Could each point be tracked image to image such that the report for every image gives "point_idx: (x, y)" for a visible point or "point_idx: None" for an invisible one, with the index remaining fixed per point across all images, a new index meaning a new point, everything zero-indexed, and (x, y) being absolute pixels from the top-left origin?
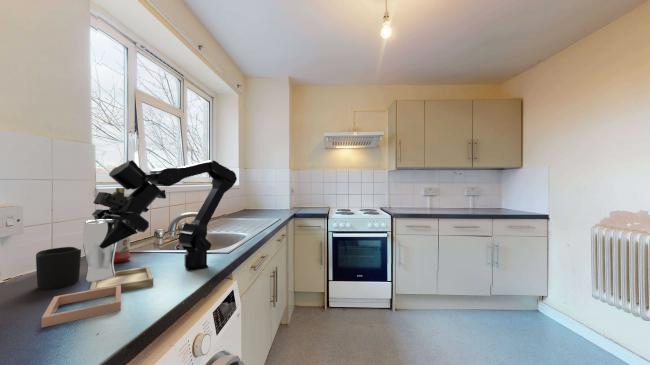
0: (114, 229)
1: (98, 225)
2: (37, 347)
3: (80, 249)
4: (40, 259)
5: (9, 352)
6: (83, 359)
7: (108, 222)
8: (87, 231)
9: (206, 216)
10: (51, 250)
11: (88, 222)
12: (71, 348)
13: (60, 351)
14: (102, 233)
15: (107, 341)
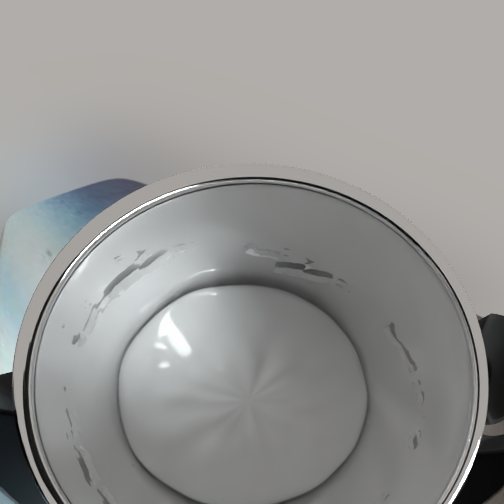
0: (11, 377)
1: (99, 250)
2: (106, 201)
3: (487, 419)
4: (482, 318)
5: (133, 183)
6: (26, 207)
7: (15, 357)
8: (224, 233)
9: None
10: None
11: (443, 300)
12: (56, 215)
13: (64, 206)
14: (106, 322)
15: (23, 242)
